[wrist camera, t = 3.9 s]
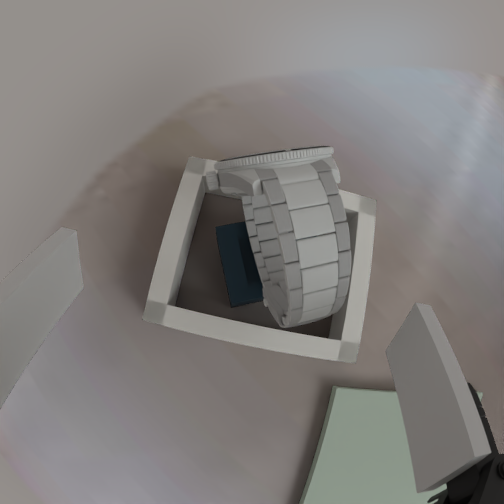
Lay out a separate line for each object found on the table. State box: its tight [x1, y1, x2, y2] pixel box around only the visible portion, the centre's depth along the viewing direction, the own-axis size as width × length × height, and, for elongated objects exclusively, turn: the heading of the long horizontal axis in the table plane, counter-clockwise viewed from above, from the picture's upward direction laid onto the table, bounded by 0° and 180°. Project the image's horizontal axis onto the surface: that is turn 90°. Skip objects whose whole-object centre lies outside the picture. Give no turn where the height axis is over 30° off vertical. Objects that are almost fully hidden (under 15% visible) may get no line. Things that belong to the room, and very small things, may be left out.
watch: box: [206, 146, 351, 328], centre depth 15 cm, size 6×8×11 cm
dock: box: [142, 156, 376, 363], centre depth 19 cm, size 12×10×2 cm
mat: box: [299, 386, 483, 504], centre depth 16 cm, size 14×14×1 cm
